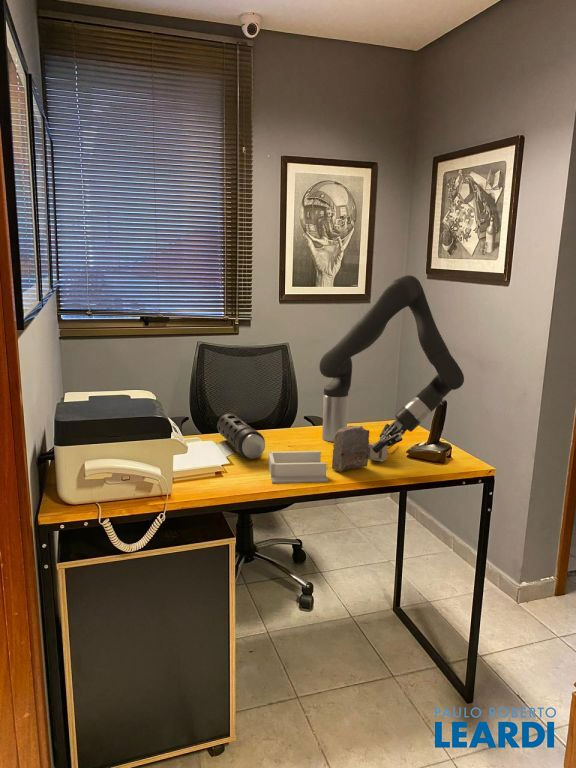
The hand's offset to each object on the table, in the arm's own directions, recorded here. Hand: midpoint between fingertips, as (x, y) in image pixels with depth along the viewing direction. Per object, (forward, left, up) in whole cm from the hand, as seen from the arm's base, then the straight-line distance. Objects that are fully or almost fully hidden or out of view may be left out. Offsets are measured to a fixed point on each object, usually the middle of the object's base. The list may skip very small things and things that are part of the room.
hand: (373, 450), depth 185 cm
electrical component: (-15, +8, -7) cm, 18 cm away
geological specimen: (0, -8, -7) cm, 10 cm away
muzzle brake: (-22, -43, -7) cm, 48 cm away
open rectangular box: (+2, -25, -6) cm, 26 cm away
